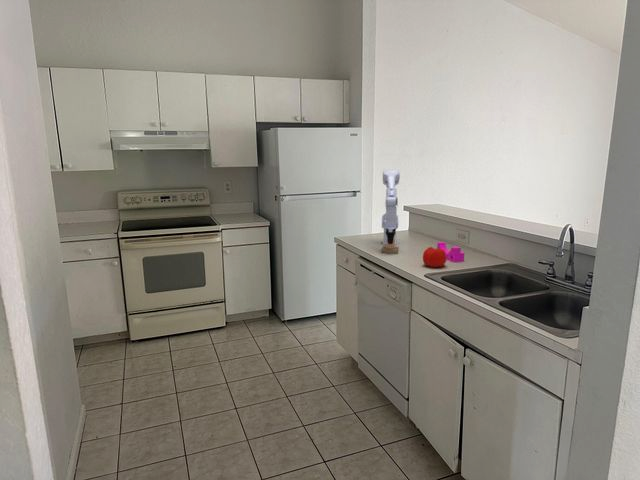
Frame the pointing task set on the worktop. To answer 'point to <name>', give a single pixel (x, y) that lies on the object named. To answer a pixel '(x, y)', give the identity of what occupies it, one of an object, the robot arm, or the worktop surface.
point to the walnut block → (390, 250)
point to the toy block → (452, 252)
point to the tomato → (434, 257)
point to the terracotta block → (390, 245)
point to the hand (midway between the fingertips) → (390, 242)
